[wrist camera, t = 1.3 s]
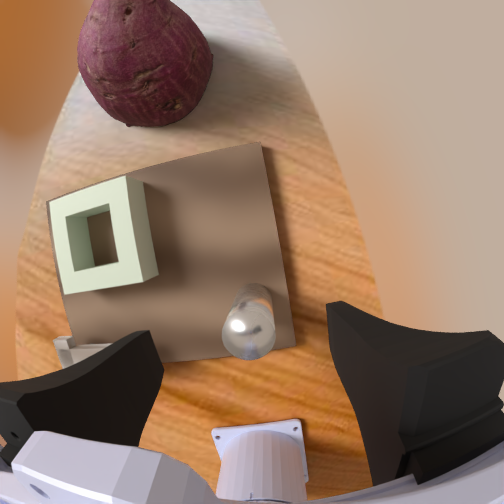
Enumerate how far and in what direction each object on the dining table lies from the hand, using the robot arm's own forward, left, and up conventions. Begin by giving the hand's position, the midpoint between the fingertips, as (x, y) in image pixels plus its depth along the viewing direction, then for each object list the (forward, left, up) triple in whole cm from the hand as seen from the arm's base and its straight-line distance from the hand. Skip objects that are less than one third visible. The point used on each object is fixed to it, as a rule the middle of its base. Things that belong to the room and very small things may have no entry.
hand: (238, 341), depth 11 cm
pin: (-1, 0, -10) cm, 10 cm away
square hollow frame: (+6, +10, -11) cm, 16 cm away
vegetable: (+19, +5, -11) cm, 22 cm away
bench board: (+3, +7, -11) cm, 13 cm away
